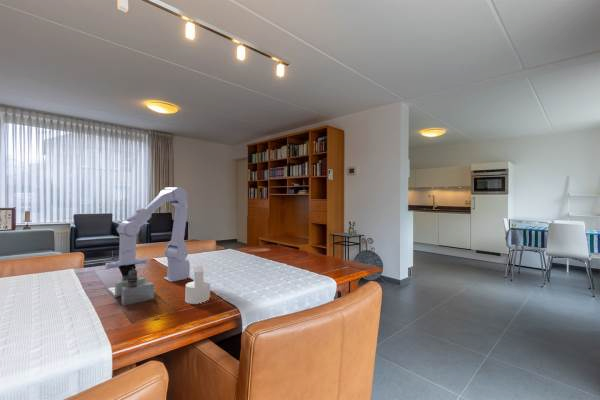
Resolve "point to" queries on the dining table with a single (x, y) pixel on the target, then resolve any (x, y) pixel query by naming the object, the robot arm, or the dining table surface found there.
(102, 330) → the dining table surface
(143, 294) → the plate
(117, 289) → the vise jaw
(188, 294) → the cylinder with rectangular tab
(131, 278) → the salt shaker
